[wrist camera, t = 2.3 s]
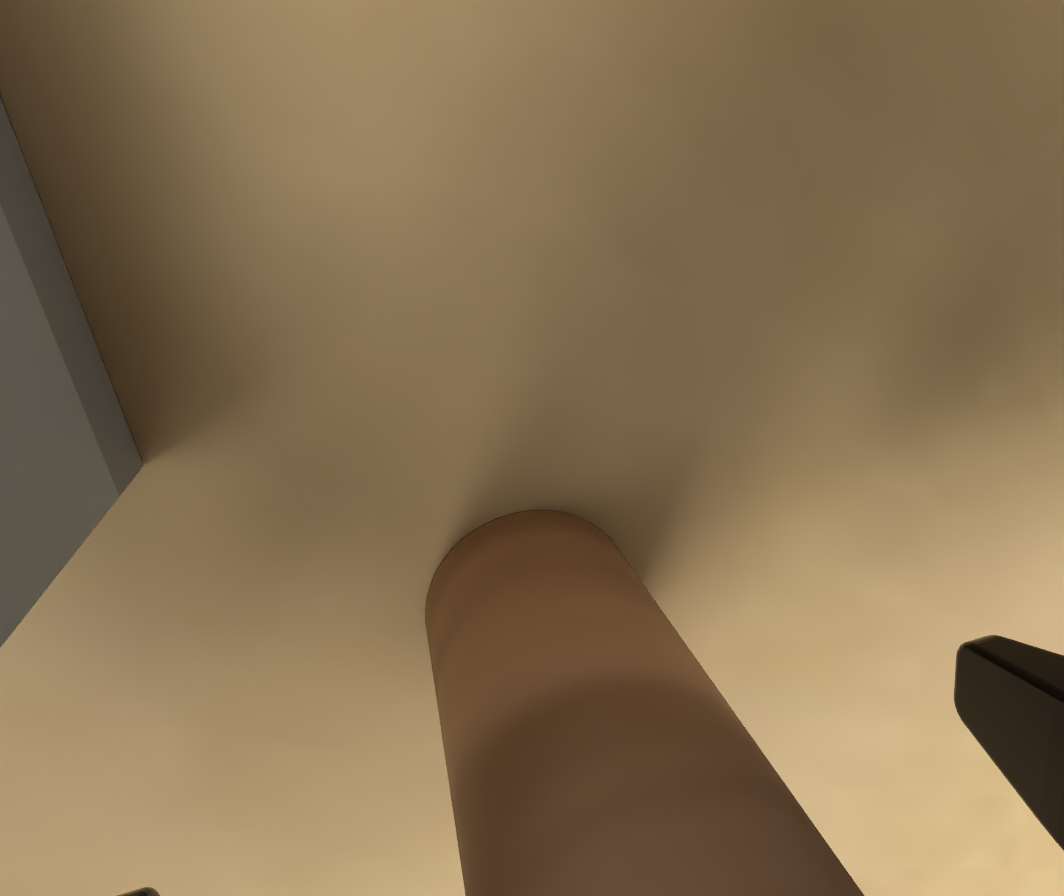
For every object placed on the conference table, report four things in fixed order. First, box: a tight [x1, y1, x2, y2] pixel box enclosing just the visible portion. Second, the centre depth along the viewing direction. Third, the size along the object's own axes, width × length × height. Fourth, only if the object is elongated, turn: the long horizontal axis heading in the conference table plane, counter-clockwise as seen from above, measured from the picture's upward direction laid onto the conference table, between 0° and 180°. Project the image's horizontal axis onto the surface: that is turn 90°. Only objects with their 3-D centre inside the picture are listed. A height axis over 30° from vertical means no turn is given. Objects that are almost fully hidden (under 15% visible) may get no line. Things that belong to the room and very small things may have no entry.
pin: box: [425, 510, 864, 896], centre depth 8 cm, size 3×3×8 cm
